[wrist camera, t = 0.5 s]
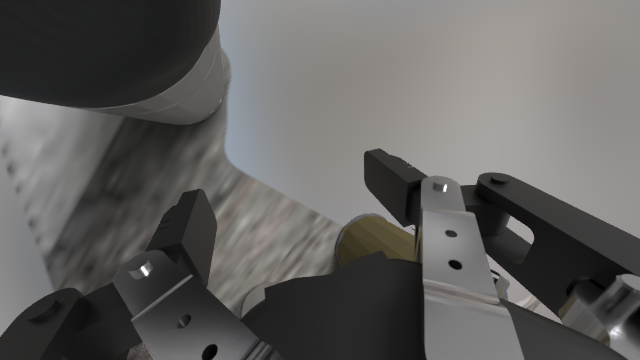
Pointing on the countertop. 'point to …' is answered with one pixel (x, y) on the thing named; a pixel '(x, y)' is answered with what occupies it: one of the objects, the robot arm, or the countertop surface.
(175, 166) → the countertop surface
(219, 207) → the countertop surface
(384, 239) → the canister
